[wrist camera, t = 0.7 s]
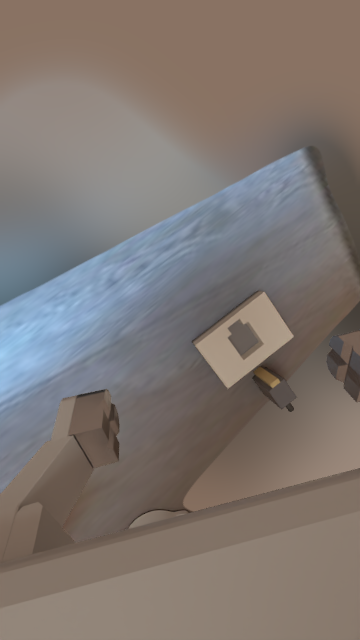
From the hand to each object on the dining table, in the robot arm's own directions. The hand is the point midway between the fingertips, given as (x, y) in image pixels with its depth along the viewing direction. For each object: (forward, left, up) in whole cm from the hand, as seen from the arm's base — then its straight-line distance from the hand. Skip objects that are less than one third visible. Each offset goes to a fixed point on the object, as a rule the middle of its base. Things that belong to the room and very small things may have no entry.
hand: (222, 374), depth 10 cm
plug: (-31, -10, -49) cm, 58 cm away
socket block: (-19, -11, -49) cm, 53 cm away
